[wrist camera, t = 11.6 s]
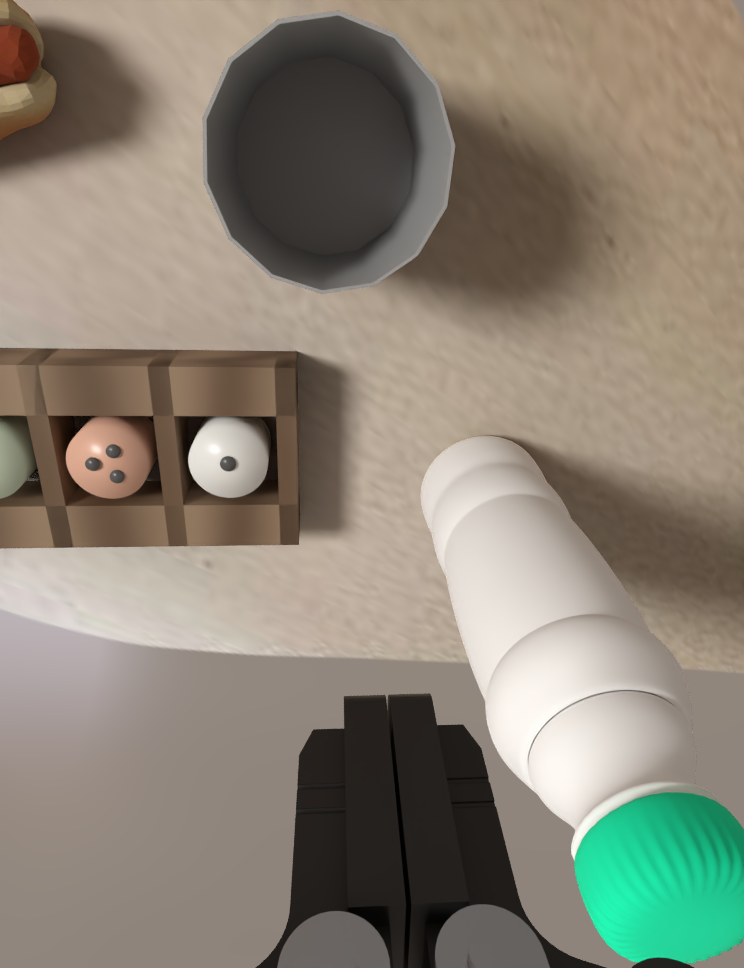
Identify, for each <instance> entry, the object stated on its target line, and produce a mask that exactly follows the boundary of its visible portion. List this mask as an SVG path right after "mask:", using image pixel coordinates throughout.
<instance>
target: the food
mask: <svg viewBox="0 0 744 968" xmlns="http://www.w3.org/2000/svg"><path fill="white" fill-rule="evenodd" d="M43 58H44V44H43V41H42V38H41V35H40V33H39V31H38V29H37V26H36V24H35V23H34V21H33V19H32V18H31V17H30V15H29V14H28V13H27V12H26V11H24V10H23V9H22V8H20V7H19V6H18V5H17V4H16V3H15V2H14V1H13V0H0V140H1V139H3V138H5V137H6V136H8V135H10V134H12V133H14V132H16V131H18V130H20V129H23V128H27V127H30V126H33V125H35V124H37V123H40V122H42V121H43V120H44V119H45V118H46V117H47V116H48V115H49V114H50V113H51V111H52V109H53V107H54V105H55V99H56V89H57V83H56V81H55V80H54V78H53V76H52V75H50V74H49V73H48V72H47V71H45V70H44V69H43V68H42V67H41V61H42V59H43Z"/></svg>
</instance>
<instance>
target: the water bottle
mask: <svg viewBox="0 0 744 968" xmlns="http://www.w3.org/2000/svg"><path fill="white" fill-rule="evenodd" d="M421 504H422V510H423V513H424V517H425V520H426V522H427V525H428V527H429V530H430V532H431V534H432V536H433V542H434V548H435V551H436V555H437V558H438V561H439V563H440V566H441V568H442V570H443V572H444V573H445V575H446V577H447V583H448V589H449V593H450V598H451V602H452V606H453V610H454V614H455V617H456V621H457V624H458V628H459V631H460V634H461V638H462V641H463V644H464V647H465V650H466V653H467V656H468V659H469V662H470V665H471V668H472V670H473V673H474V676H475V678H476V681H477V683H478V686H479V688H480V691H481V693H482V695H483V697H484V700H485V702H486V719H487V724H488V728H489V732H490V735H491V738H492V740H493V743H494V745H495V747H496V749H497V751H498V753H499V754H500V756H501V758H502V759H503V760H504V762H505V763H506V764H507V766H508V767H509V768H510V769H511V770H512V771H513V772H514V773H515V774H516V775H517V776H518V777H519V778H520V779H521V780H522V781H523V782H524V783H525V784H526V785H527V786H528V787H530V788H531V789H532V790H533V791H534V792H535V793H537V794H538V795H539V797H540V798H541V800H542V801H543V802H544V804H545V805H546V806H547V807H548V808H549V809H550V810H551V811H552V812H553V813H554V814H556V815H557V816H558V817H560V818H561V819H562V820H564V821H565V822H567V823H568V824H570V825H571V826H572V827H573V828H575V831H576V832H575V834H574V837H573V840H572V844H571V853H572V856H573V859H574V861H575V862H574V867H575V874H576V879H577V882H578V886H579V889H580V892H581V895H582V898H583V901H584V903H585V906H586V908H587V910H588V913H589V914H590V917H591V919H592V921H593V924H594V926H595V927H596V929H597V931H598V932H599V934H600V935H601V937H602V938H603V939H604V941H605V942H606V943H607V945H608V946H610V947H611V948H612V949H613V950H615V951H616V952H617V953H618V954H619V955H620V956H623V957H626V958H627V959H629V960H630V961H634V962H638V963H639V962H640V961H643V960H646V959H649V958H657V957H661V958H670V959H674V960H678V961H681V962H683V963H695V962H697V961H698V960H703V961H704V960H707V959H708V958H710V957H711V956H718V955H720V954H721V953H722V952H723V951H729V950H730V949H732V947H733V946H734V945H738V944H740V943H742V941H743V939H744V829H743V828H742V826H741V825H740V824H739V822H738V821H737V820H736V819H735V818H734V816H733V815H732V814H731V813H730V812H729V811H728V810H727V809H726V808H725V807H724V806H723V805H722V803H721V802H720V800H719V799H718V798H717V797H716V796H715V795H714V794H713V793H712V792H710V791H709V790H707V789H705V788H703V787H701V786H698V785H696V783H695V770H696V746H695V741H694V737H693V734H692V707H691V697H690V692H689V688H688V684H687V681H686V678H685V675H684V673H683V671H682V669H681V667H680V665H679V663H678V662H677V660H676V658H675V657H674V655H673V654H672V653H671V651H670V650H669V649H668V648H667V647H666V646H665V644H664V643H663V642H662V641H661V640H659V639H658V638H657V637H656V636H655V635H654V634H652V633H651V632H650V630H649V629H648V627H647V625H646V623H645V621H644V619H643V618H642V616H641V614H640V612H639V611H638V609H637V607H636V606H635V604H634V602H633V601H632V599H631V598H630V596H629V595H628V593H627V592H626V590H625V588H624V587H623V585H622V584H621V582H620V581H619V579H618V578H617V577H616V575H615V574H614V572H613V571H612V569H611V568H610V567H609V565H608V564H607V562H606V561H605V560H604V558H603V557H602V556H601V554H600V553H599V552H598V550H597V549H596V548H595V546H594V545H593V544H592V542H591V541H590V540H589V539H588V537H587V536H586V535H585V534H584V533H583V531H582V530H581V529H580V528H579V527H578V526H577V525H576V524H575V522H574V521H573V520H572V519H571V517H570V514H569V512H568V510H567V508H566V506H565V504H564V503H563V501H562V500H561V498H560V497H559V495H558V494H557V493H556V491H555V490H554V489H553V488H552V487H551V486H550V485H549V484H548V483H547V481H546V479H545V477H544V475H543V473H542V472H541V470H540V468H539V467H538V465H537V464H536V462H535V461H534V460H533V458H532V457H531V456H530V455H529V453H527V452H526V451H525V450H524V449H523V448H522V447H521V446H519V445H517V444H516V443H514V442H512V441H510V440H507V439H504V438H501V437H495V436H477V437H471V438H468V439H464V440H462V441H459V442H457V443H455V444H453V445H451V446H450V447H448V448H447V449H445V450H444V451H443V452H442V453H441V454H440V455H439V456H438V457H437V458H436V459H435V460H434V461H433V462H432V464H431V465H430V467H429V468H428V470H427V472H426V474H425V477H424V479H423V483H422V487H421Z"/></svg>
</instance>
